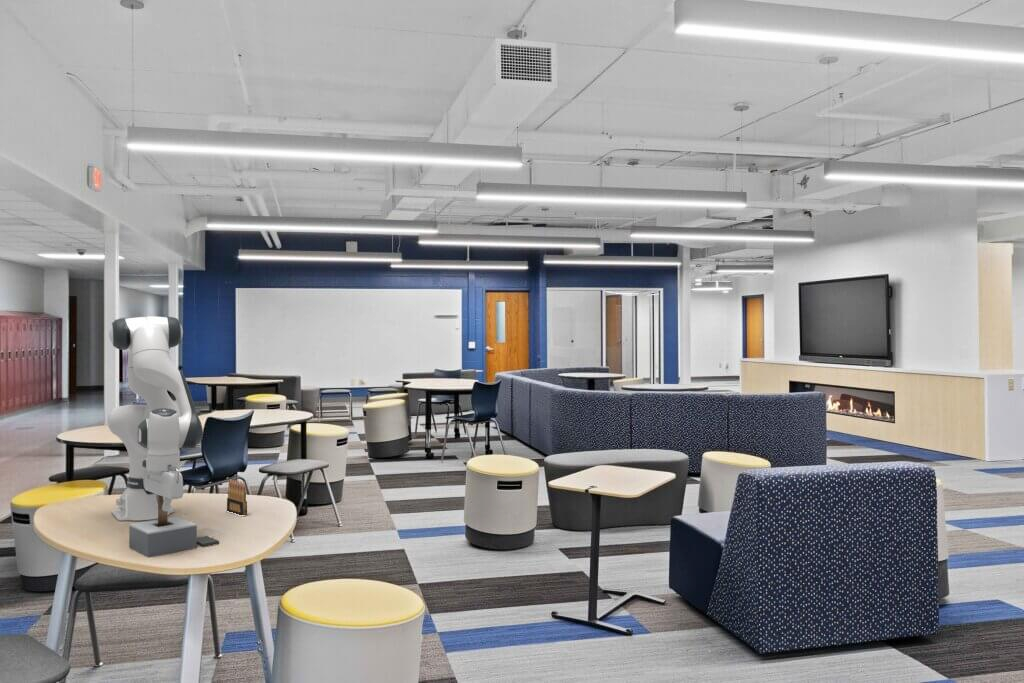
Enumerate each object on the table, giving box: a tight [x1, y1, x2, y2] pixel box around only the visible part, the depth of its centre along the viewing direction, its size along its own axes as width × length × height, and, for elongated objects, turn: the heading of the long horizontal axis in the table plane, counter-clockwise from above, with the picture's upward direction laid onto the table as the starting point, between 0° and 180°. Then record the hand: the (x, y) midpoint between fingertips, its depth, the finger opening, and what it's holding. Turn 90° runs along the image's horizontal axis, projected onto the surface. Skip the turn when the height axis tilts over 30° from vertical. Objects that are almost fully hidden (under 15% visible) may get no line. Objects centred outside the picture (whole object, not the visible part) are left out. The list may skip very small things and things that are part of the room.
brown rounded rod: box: [157, 495, 169, 526], centre depth 224 cm, size 3×3×10 cm
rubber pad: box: [196, 535, 220, 548], centre depth 229 cm, size 8×5×1 cm, turn 47°
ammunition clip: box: [226, 478, 248, 516], centre depth 267 cm, size 11×2×12 cm, turn 50°
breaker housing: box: [128, 516, 198, 558], centre depth 224 cm, size 14×14×7 cm
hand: (163, 509), depth 224 cm, fingers closed on brown rounded rod, 3 cm apart
